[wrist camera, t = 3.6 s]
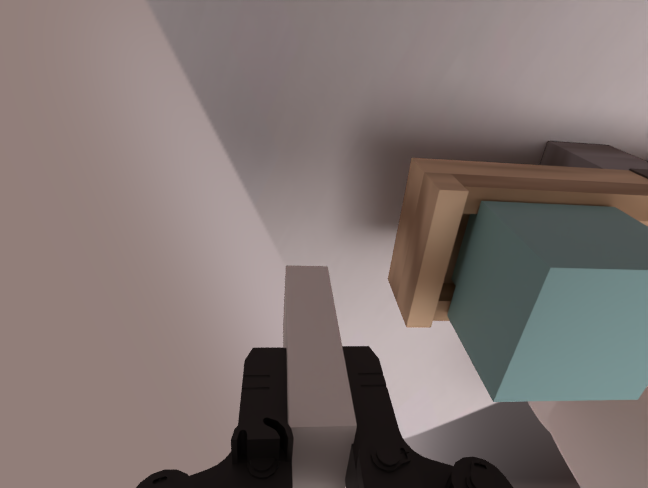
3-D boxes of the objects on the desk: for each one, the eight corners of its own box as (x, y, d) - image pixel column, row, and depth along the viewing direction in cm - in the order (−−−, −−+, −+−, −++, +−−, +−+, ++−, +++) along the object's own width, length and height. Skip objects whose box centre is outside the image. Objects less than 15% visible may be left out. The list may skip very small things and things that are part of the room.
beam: (388, 128, 24) (464, 215, 14) (749, 152, 26) (1028, 238, 17) (371, 237, 27) (421, 369, 17) (690, 248, 30) (892, 366, 20)
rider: (467, 186, 18) (550, 267, 12) (591, 193, 19) (724, 272, 13) (436, 296, 21) (493, 401, 15) (545, 298, 22) (637, 399, 16)
